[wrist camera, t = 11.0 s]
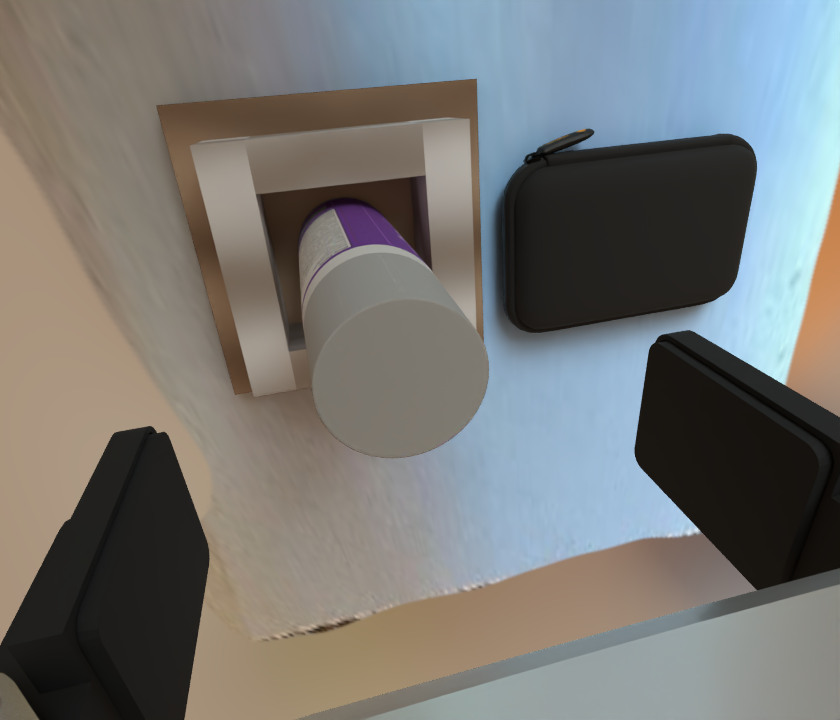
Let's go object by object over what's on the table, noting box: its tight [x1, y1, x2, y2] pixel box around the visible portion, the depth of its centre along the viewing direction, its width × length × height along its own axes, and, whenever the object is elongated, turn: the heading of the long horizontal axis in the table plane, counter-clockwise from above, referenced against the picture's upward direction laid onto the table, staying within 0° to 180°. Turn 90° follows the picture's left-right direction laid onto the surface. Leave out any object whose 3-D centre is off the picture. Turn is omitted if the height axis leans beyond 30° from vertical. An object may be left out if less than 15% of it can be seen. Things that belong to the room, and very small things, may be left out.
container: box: [298, 197, 489, 458], centre depth 20 cm, size 5×5×15 cm
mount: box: [157, 79, 484, 397], centre depth 25 cm, size 14×14×5 cm
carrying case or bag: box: [502, 129, 757, 333], centre depth 29 cm, size 11×3×15 cm
